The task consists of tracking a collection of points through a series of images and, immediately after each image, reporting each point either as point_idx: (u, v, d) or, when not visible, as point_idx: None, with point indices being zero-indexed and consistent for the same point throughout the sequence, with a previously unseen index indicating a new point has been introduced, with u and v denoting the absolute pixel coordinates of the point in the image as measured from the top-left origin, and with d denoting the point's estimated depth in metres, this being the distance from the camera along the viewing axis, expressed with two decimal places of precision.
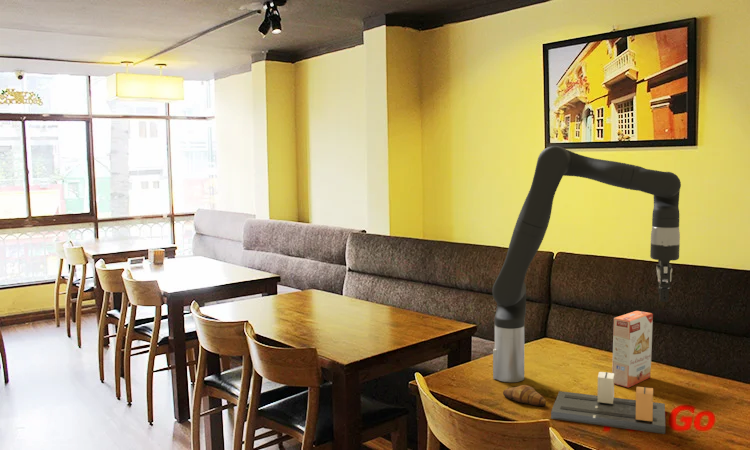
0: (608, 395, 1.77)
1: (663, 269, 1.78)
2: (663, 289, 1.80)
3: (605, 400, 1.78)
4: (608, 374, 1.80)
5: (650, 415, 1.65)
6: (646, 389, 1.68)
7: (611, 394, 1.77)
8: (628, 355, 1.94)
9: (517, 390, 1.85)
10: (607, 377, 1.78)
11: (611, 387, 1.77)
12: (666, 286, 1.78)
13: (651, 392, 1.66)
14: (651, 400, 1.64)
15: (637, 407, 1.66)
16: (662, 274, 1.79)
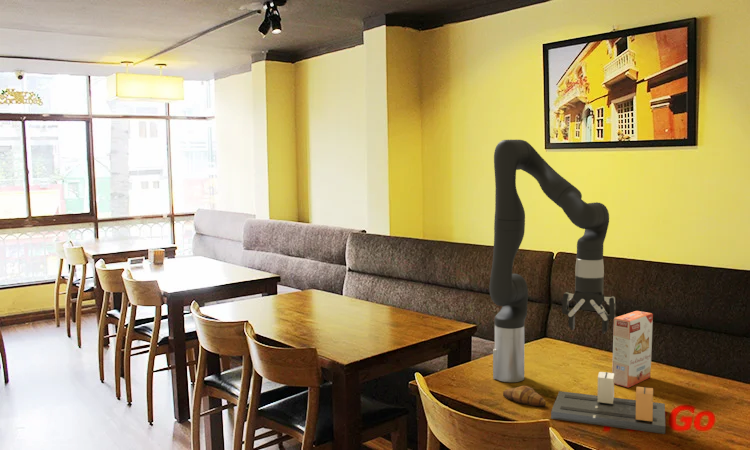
0: (608, 395, 1.77)
1: (614, 300, 1.77)
2: (608, 320, 1.79)
3: (605, 400, 1.78)
4: (608, 374, 1.80)
5: (650, 415, 1.65)
6: (646, 389, 1.68)
7: (611, 394, 1.77)
8: (628, 355, 1.94)
9: (517, 391, 1.85)
10: (607, 377, 1.78)
11: (611, 387, 1.77)
12: (614, 316, 1.79)
13: (651, 392, 1.66)
14: (651, 400, 1.64)
15: (637, 407, 1.66)
16: (614, 305, 1.77)
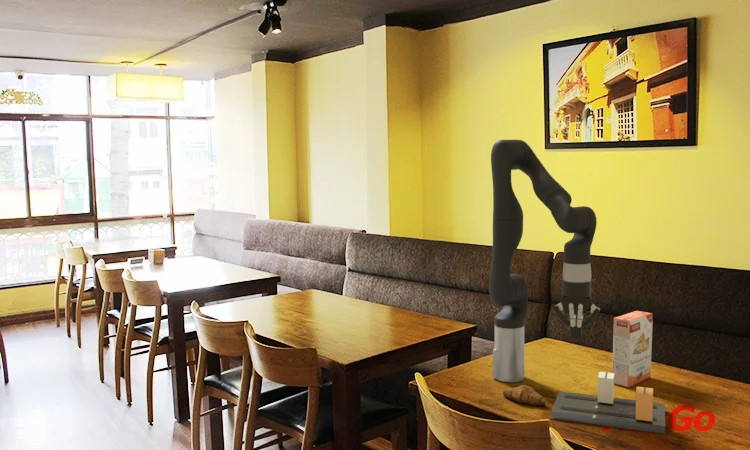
0: (608, 395, 1.77)
1: (598, 312, 1.78)
2: (581, 327, 1.80)
3: (605, 400, 1.78)
4: (608, 374, 1.80)
5: (650, 415, 1.65)
6: (646, 389, 1.68)
7: (611, 394, 1.77)
8: (628, 355, 1.94)
9: (517, 390, 1.85)
10: (607, 377, 1.78)
11: (611, 387, 1.77)
12: None
13: (651, 392, 1.66)
14: (651, 400, 1.64)
15: (637, 407, 1.66)
16: (595, 316, 1.78)
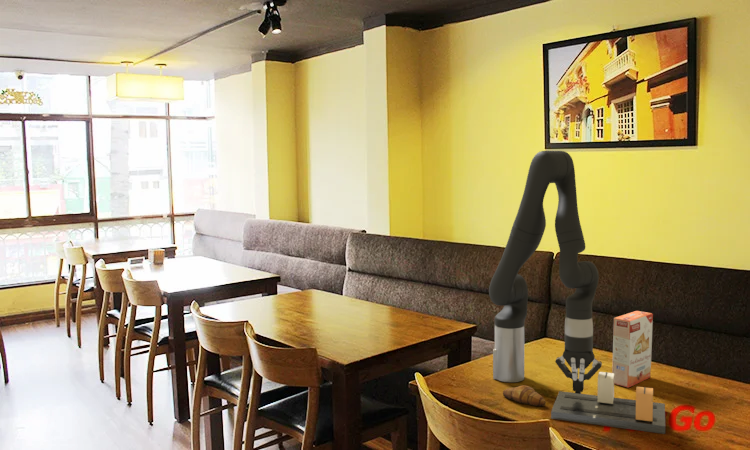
0: (608, 395, 1.77)
1: None
2: (583, 381, 1.81)
3: (605, 400, 1.78)
4: (608, 374, 1.80)
5: (650, 415, 1.65)
6: (646, 389, 1.68)
7: (611, 394, 1.77)
8: (628, 355, 1.94)
9: (517, 390, 1.85)
10: (607, 377, 1.78)
11: (611, 387, 1.77)
12: None
13: (651, 392, 1.66)
14: (651, 400, 1.64)
15: (637, 407, 1.66)
16: (596, 371, 1.79)
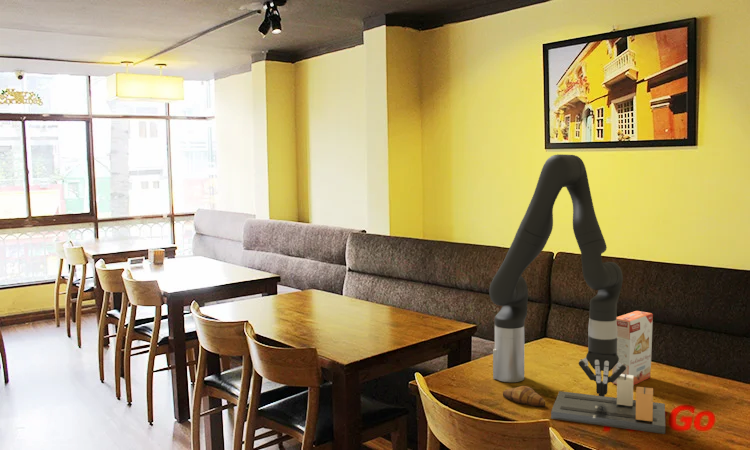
0: (627, 398, 1.75)
1: (624, 369, 1.76)
2: (607, 383, 1.79)
3: (624, 402, 1.76)
4: (627, 376, 1.78)
5: (650, 415, 1.65)
6: (646, 389, 1.68)
7: (631, 396, 1.75)
8: (628, 355, 1.94)
9: (517, 391, 1.85)
10: (626, 379, 1.76)
11: (631, 389, 1.75)
12: None
13: (651, 392, 1.66)
14: (651, 400, 1.64)
15: (637, 407, 1.66)
16: None
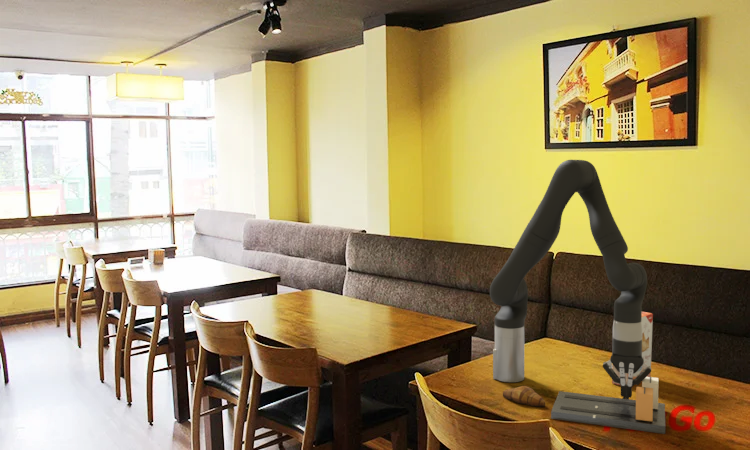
0: (653, 401, 1.73)
1: None
2: None
3: None
4: (652, 379, 1.75)
5: (650, 415, 1.65)
6: (646, 389, 1.68)
7: (656, 399, 1.72)
8: None
9: (516, 391, 1.85)
10: (652, 382, 1.73)
11: (656, 392, 1.72)
12: None
13: (651, 392, 1.66)
14: (651, 400, 1.64)
15: (637, 407, 1.66)
16: None
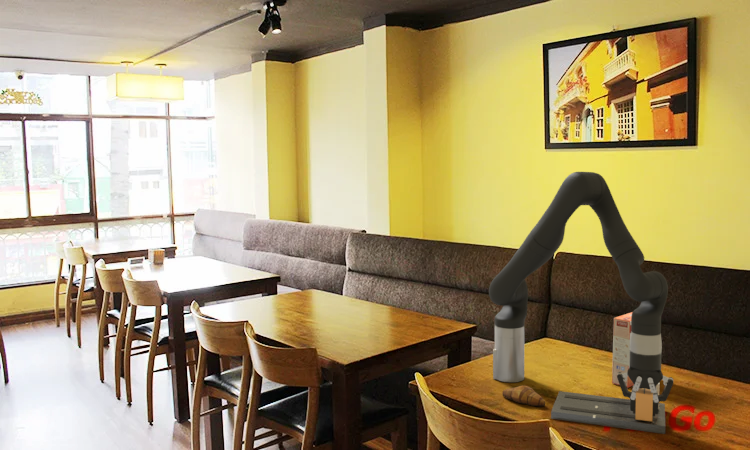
0: None
1: (672, 383, 1.64)
2: (658, 402, 1.66)
3: None
4: None
5: (650, 415, 1.65)
6: (646, 389, 1.68)
7: None
8: (628, 355, 1.94)
9: (516, 391, 1.85)
10: None
11: (657, 392, 1.72)
12: None
13: None
14: (651, 400, 1.64)
15: (637, 407, 1.66)
16: (670, 388, 1.64)
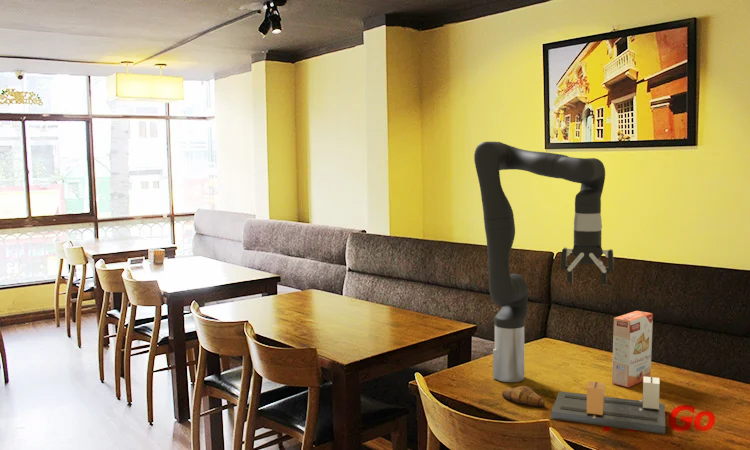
0: (654, 401, 1.73)
1: (612, 252, 1.82)
2: (606, 273, 1.83)
3: (651, 405, 1.73)
4: (653, 379, 1.75)
5: (601, 409, 1.69)
6: (597, 384, 1.73)
7: (657, 399, 1.72)
8: (628, 355, 1.94)
9: (516, 391, 1.85)
10: (653, 382, 1.73)
11: (657, 392, 1.72)
12: (613, 268, 1.83)
13: (601, 386, 1.70)
14: (601, 394, 1.69)
15: (588, 401, 1.71)
16: (612, 257, 1.82)
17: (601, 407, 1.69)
